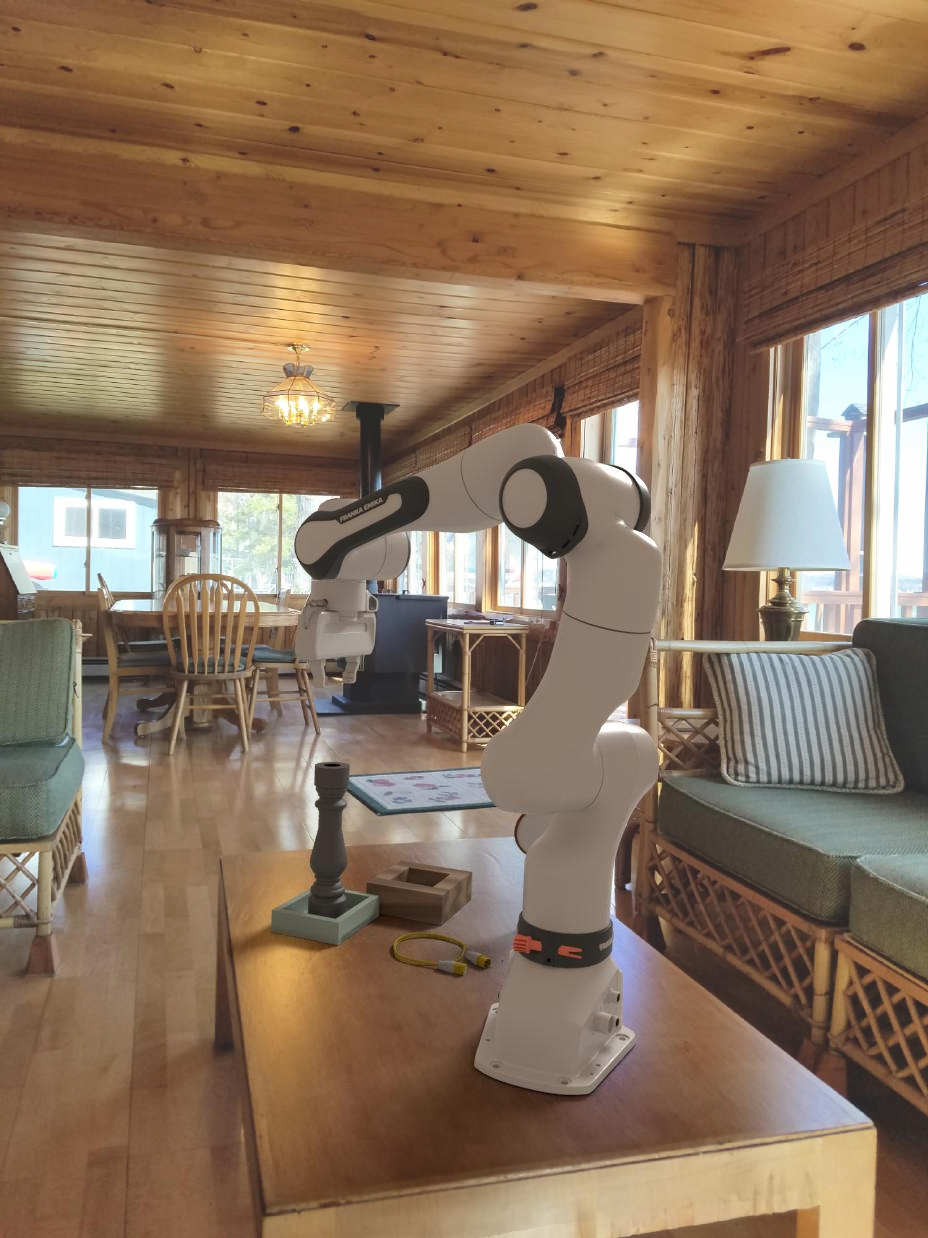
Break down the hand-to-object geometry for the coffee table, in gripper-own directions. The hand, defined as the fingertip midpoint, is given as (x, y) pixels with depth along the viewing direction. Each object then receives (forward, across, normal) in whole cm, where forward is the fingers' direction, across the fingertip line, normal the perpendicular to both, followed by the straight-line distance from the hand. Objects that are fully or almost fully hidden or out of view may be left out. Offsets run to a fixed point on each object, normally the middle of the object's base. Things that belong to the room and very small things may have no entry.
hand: (335, 685), depth 145 cm
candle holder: (+38, 0, 0) cm, 38 cm away
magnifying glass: (+39, +15, -31) cm, 52 cm away
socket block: (+39, +15, -10) cm, 43 cm away
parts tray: (+39, 0, 0) cm, 39 cm away
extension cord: (+40, -4, -21) cm, 45 cm away
